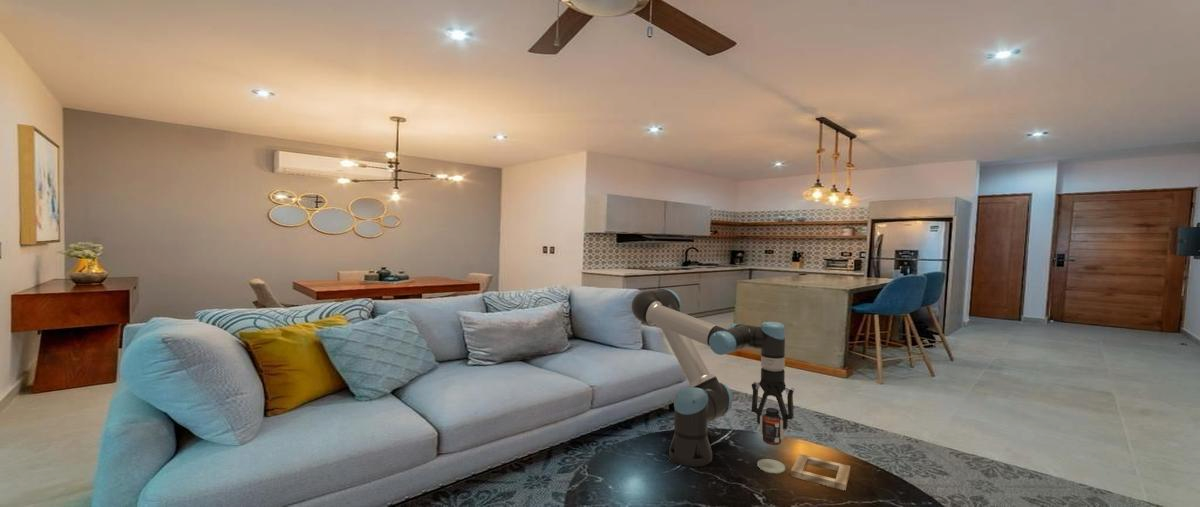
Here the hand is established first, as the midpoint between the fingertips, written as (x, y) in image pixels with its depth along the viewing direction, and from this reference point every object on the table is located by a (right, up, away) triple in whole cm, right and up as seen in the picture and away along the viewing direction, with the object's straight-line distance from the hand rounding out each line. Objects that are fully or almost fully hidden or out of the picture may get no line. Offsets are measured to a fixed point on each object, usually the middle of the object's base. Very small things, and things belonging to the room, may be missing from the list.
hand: (772, 435), depth 162 cm
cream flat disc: (0, -11, +1) cm, 11 cm away
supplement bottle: (0, -3, 0) cm, 3 cm away
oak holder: (+15, -11, -4) cm, 19 cm away
